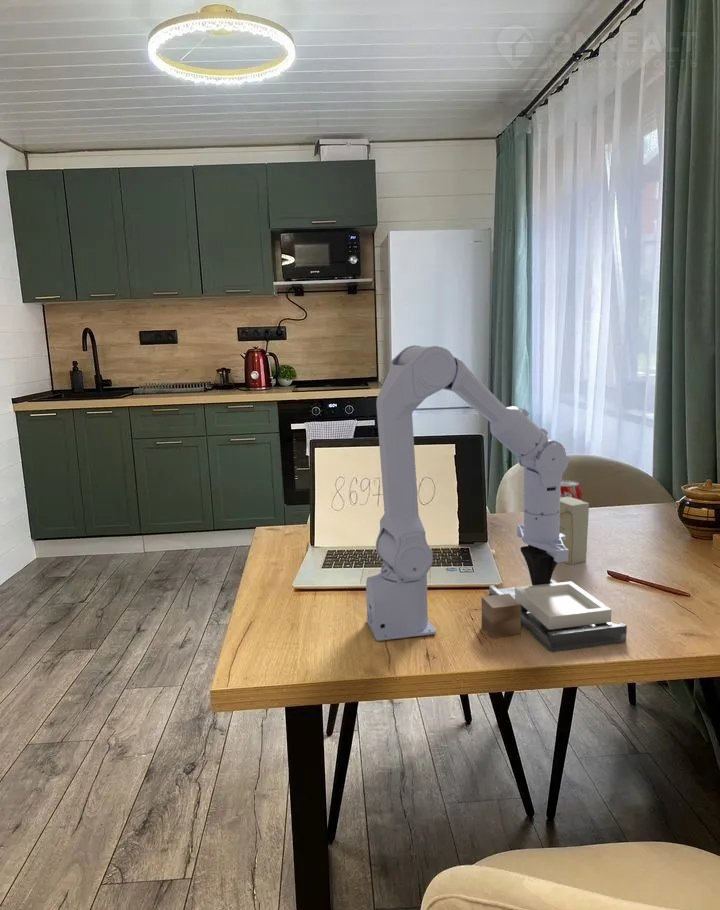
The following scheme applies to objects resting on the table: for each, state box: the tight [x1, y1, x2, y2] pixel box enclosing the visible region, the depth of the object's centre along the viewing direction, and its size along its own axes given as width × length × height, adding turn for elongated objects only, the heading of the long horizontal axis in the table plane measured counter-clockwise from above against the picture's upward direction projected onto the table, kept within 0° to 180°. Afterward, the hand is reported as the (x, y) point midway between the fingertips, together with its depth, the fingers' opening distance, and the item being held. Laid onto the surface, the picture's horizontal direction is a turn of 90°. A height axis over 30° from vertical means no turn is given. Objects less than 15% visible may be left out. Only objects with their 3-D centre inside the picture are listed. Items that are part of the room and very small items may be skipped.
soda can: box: [560, 479, 583, 501], centre depth 149 cm, size 7×7×12 cm
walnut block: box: [481, 594, 522, 640], centre depth 103 cm, size 4×4×5 cm
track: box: [488, 578, 628, 653], centre depth 108 cm, size 12×23×3 cm, turn 11°
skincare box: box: [559, 496, 590, 565], centre depth 133 cm, size 6×4×12 cm
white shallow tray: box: [514, 580, 612, 634], centre depth 105 cm, size 10×12×4 cm
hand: (540, 589), depth 112 cm, fingers closed
